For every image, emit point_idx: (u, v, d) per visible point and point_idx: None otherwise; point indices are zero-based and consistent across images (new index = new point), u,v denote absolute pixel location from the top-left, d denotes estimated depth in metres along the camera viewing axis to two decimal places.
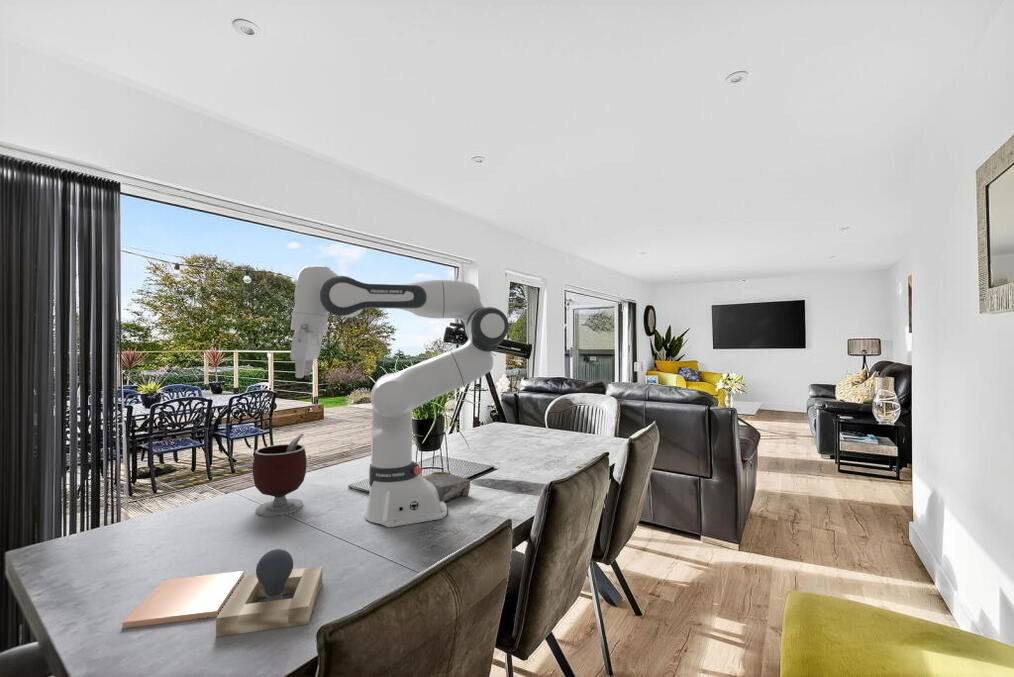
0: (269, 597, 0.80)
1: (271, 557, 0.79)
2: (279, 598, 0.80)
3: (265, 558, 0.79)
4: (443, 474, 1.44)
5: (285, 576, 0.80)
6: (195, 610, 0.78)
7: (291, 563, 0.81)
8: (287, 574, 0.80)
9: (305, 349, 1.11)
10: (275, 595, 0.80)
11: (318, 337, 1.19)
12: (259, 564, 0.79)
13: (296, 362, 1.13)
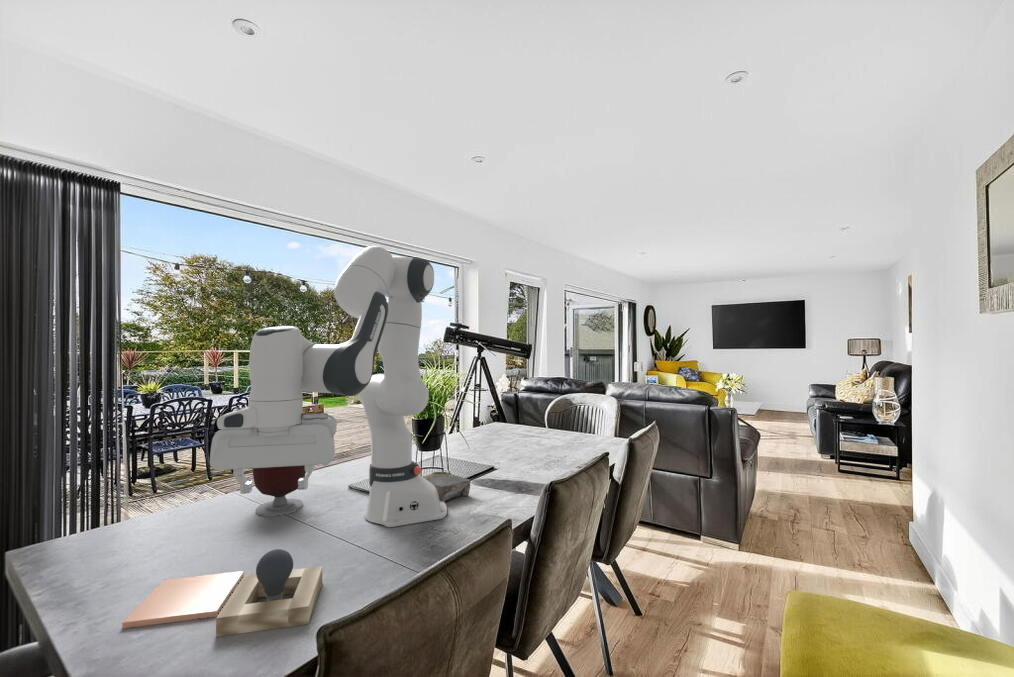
0: (269, 597, 0.80)
1: (271, 557, 0.79)
2: (279, 598, 0.80)
3: (265, 558, 0.79)
4: (443, 474, 1.44)
5: (285, 576, 0.80)
6: (195, 610, 0.78)
7: (291, 563, 0.81)
8: (287, 574, 0.80)
9: None
10: (275, 595, 0.80)
11: None
12: (259, 564, 0.79)
13: (313, 467, 0.82)
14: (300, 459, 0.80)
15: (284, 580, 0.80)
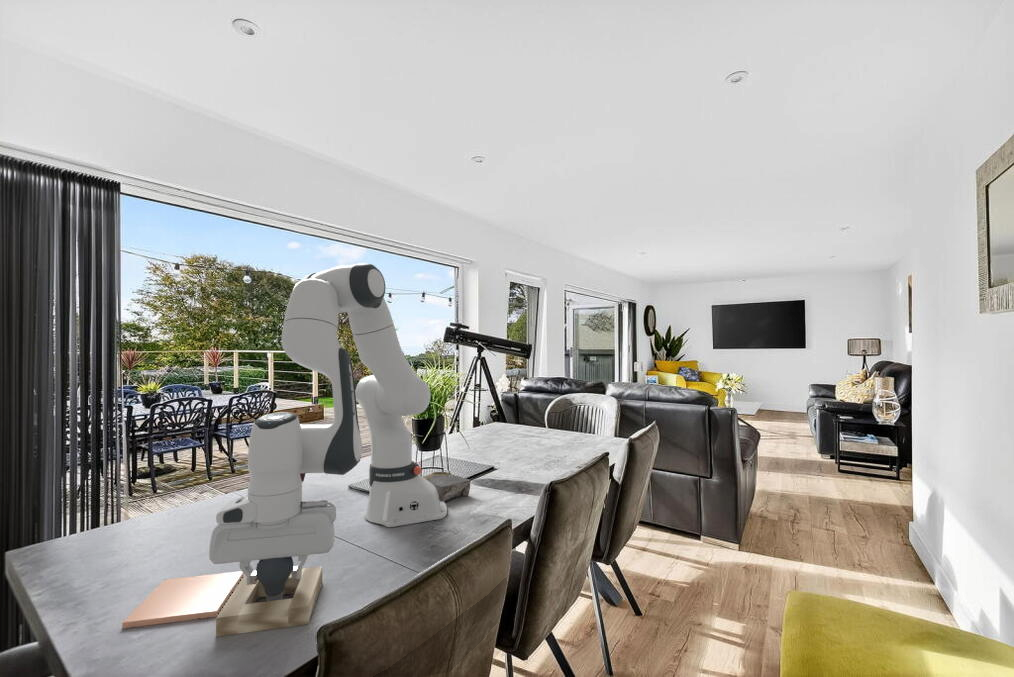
0: (269, 597, 0.80)
1: None
2: (279, 598, 0.80)
3: None
4: (443, 474, 1.44)
5: (285, 576, 0.80)
6: (195, 610, 0.78)
7: (291, 563, 0.81)
8: (287, 574, 0.80)
9: None
10: (275, 595, 0.80)
11: None
12: (259, 564, 0.79)
13: (306, 557, 0.81)
14: (300, 549, 0.80)
15: (284, 580, 0.80)
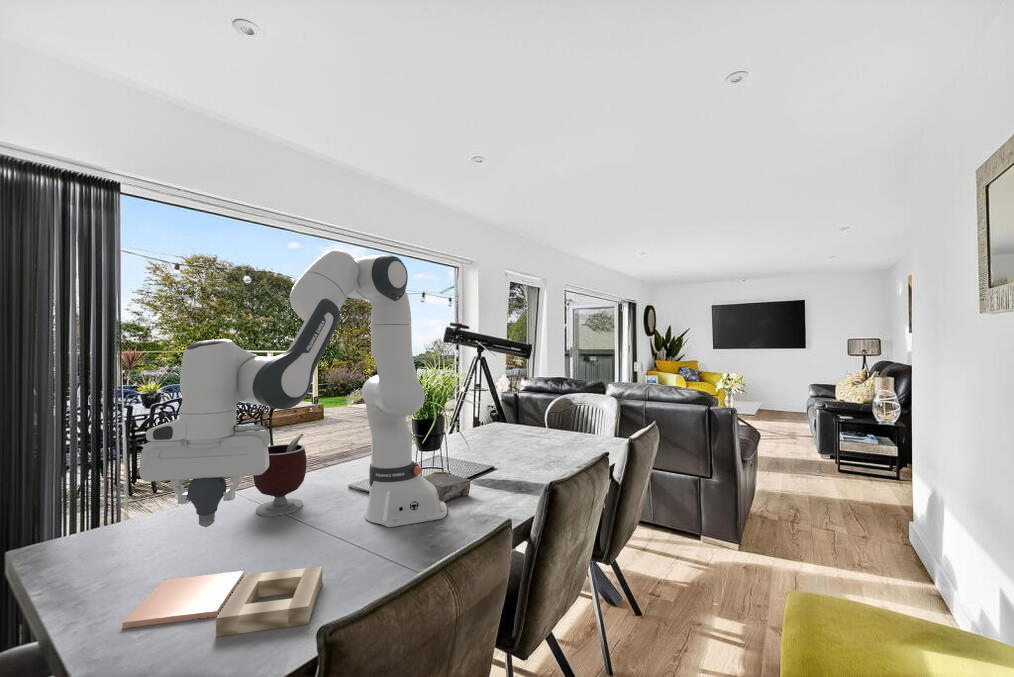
0: (200, 517, 0.81)
1: None
2: (211, 519, 0.82)
3: None
4: (443, 474, 1.44)
5: (216, 496, 0.81)
6: (195, 610, 0.78)
7: (223, 485, 0.83)
8: (219, 495, 0.81)
9: None
10: (206, 515, 0.81)
11: None
12: (190, 484, 0.80)
13: (239, 478, 0.83)
14: (231, 470, 0.82)
15: (216, 500, 0.81)
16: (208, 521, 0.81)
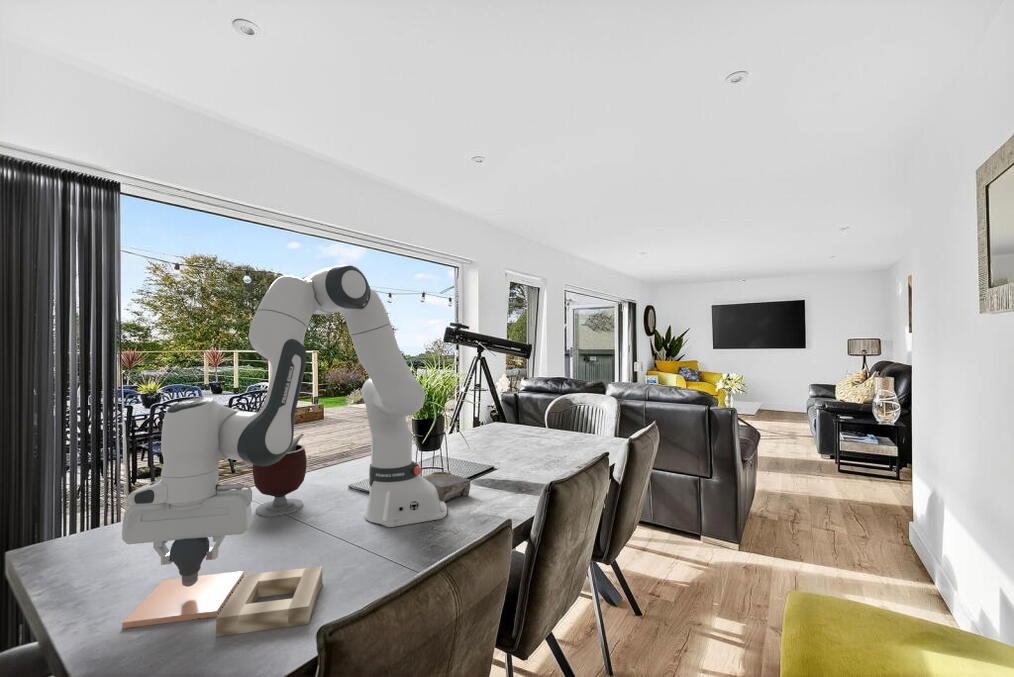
0: (183, 577, 0.82)
1: None
2: (194, 578, 0.83)
3: None
4: (443, 474, 1.44)
5: (198, 557, 0.82)
6: (195, 610, 0.78)
7: (206, 544, 0.83)
8: (201, 555, 0.82)
9: None
10: (189, 575, 0.82)
11: None
12: (173, 545, 0.81)
13: (221, 538, 0.84)
14: (213, 530, 0.82)
15: (198, 561, 0.82)
16: (191, 581, 0.82)
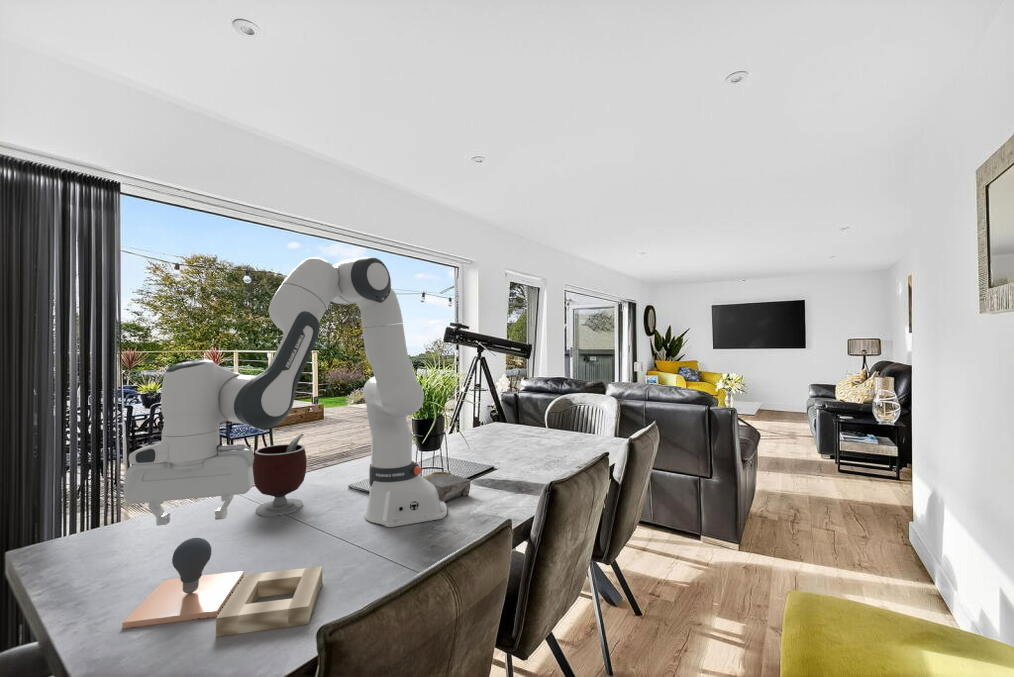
0: (184, 584, 0.82)
1: (187, 545, 0.82)
2: (195, 585, 0.83)
3: (182, 545, 0.82)
4: (443, 474, 1.44)
5: (200, 564, 0.82)
6: (195, 610, 0.78)
7: (208, 551, 0.83)
8: (203, 562, 0.82)
9: None
10: (190, 582, 0.82)
11: None
12: (175, 551, 0.81)
13: (229, 497, 0.84)
14: (215, 490, 0.83)
15: (200, 568, 0.82)
16: (192, 588, 0.82)
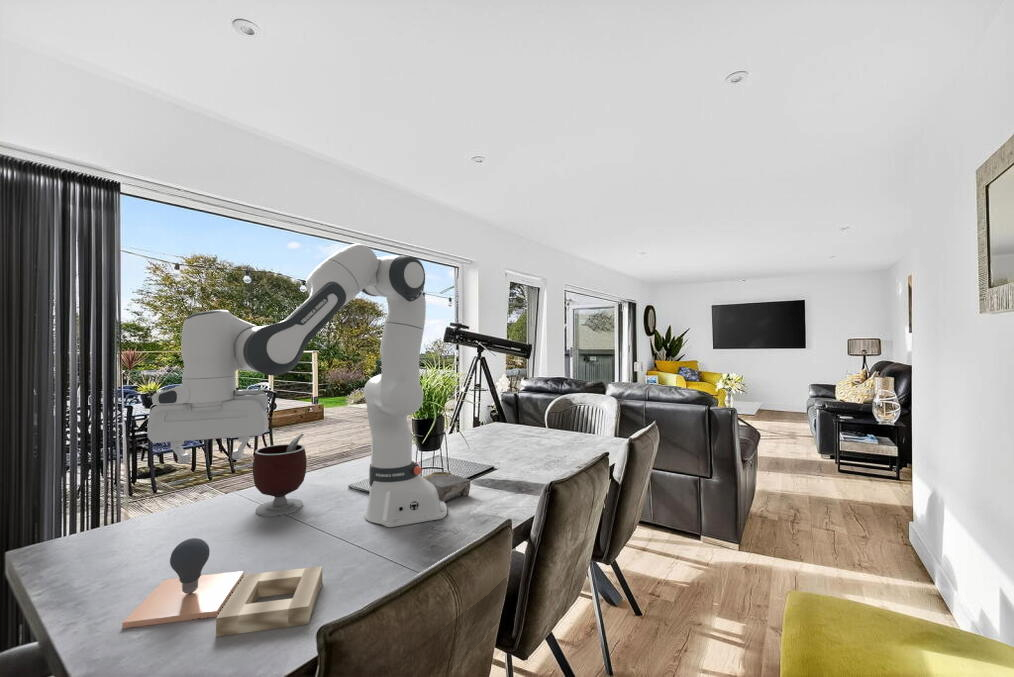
0: (184, 584, 0.82)
1: (184, 546, 0.82)
2: (194, 585, 0.83)
3: (179, 546, 0.82)
4: (443, 474, 1.44)
5: (198, 564, 0.82)
6: (195, 610, 0.78)
7: (206, 552, 0.83)
8: (201, 562, 0.82)
9: None
10: (189, 582, 0.82)
11: None
12: (173, 552, 0.81)
13: (246, 439, 0.89)
14: (233, 431, 0.88)
15: (198, 568, 0.82)
16: (191, 588, 0.82)
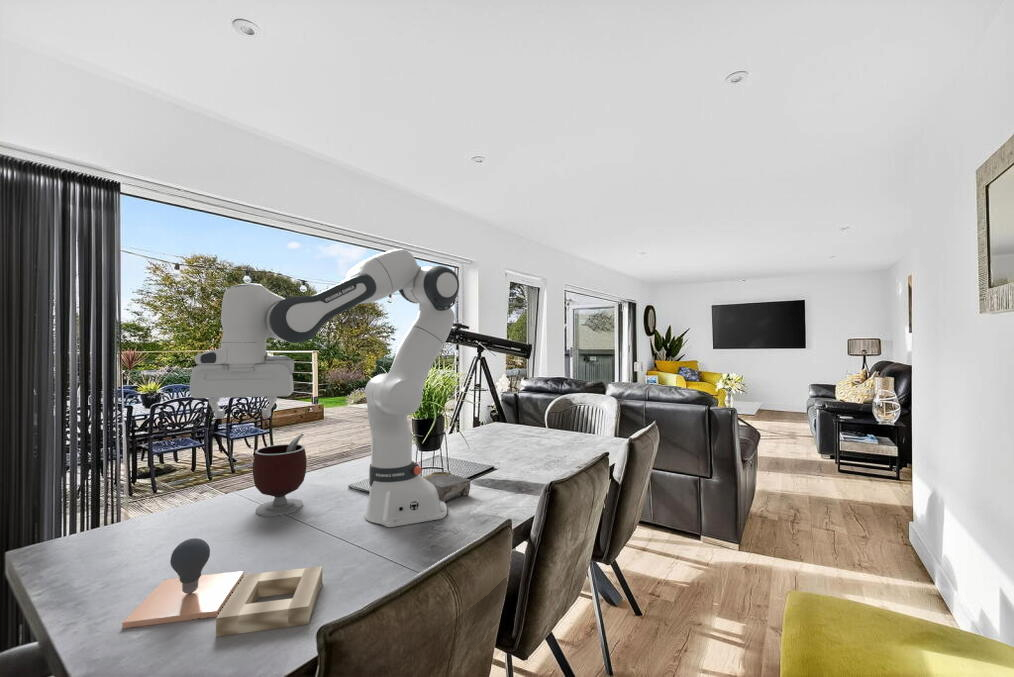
0: (184, 584, 0.82)
1: (185, 546, 0.81)
2: (194, 586, 0.83)
3: (180, 546, 0.81)
4: (443, 474, 1.44)
5: (199, 564, 0.82)
6: (195, 610, 0.78)
7: (206, 552, 0.83)
8: (201, 563, 0.82)
9: None
10: (189, 583, 0.82)
11: None
12: (173, 552, 0.81)
13: (274, 399, 1.01)
14: (263, 391, 0.99)
15: (198, 568, 0.82)
16: (191, 588, 0.82)
